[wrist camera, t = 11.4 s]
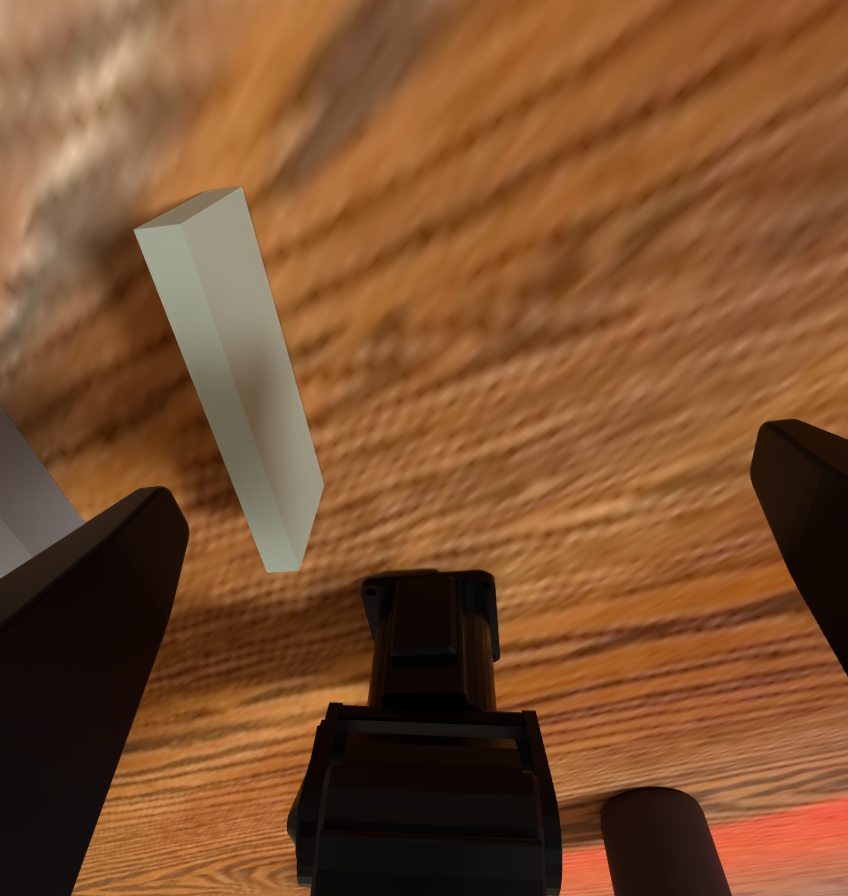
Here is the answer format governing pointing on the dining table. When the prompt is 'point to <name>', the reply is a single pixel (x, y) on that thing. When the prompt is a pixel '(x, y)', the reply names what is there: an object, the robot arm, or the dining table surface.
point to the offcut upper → (28, 502)
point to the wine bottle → (660, 846)
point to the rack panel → (238, 364)
